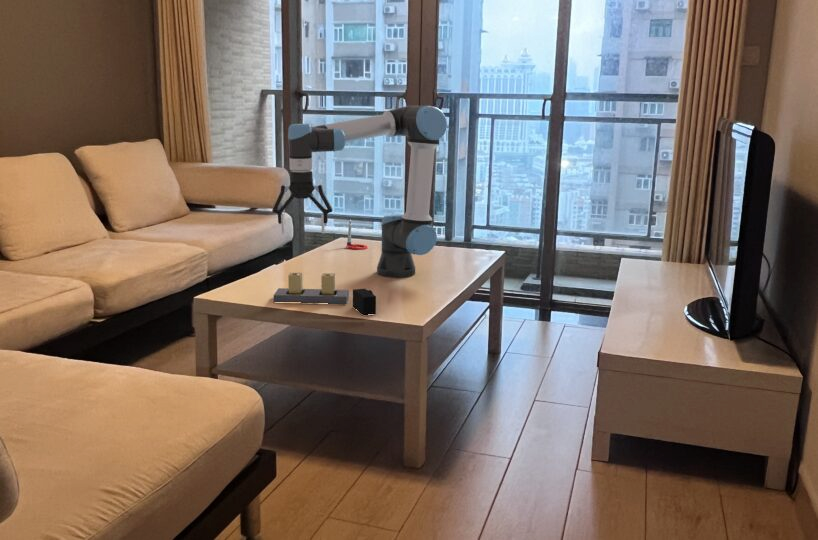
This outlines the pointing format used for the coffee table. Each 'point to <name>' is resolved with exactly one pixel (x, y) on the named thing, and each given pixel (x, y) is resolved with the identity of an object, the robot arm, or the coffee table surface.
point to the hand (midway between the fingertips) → (303, 233)
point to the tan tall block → (295, 283)
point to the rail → (311, 296)
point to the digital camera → (364, 301)
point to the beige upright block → (328, 284)
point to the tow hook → (352, 246)
